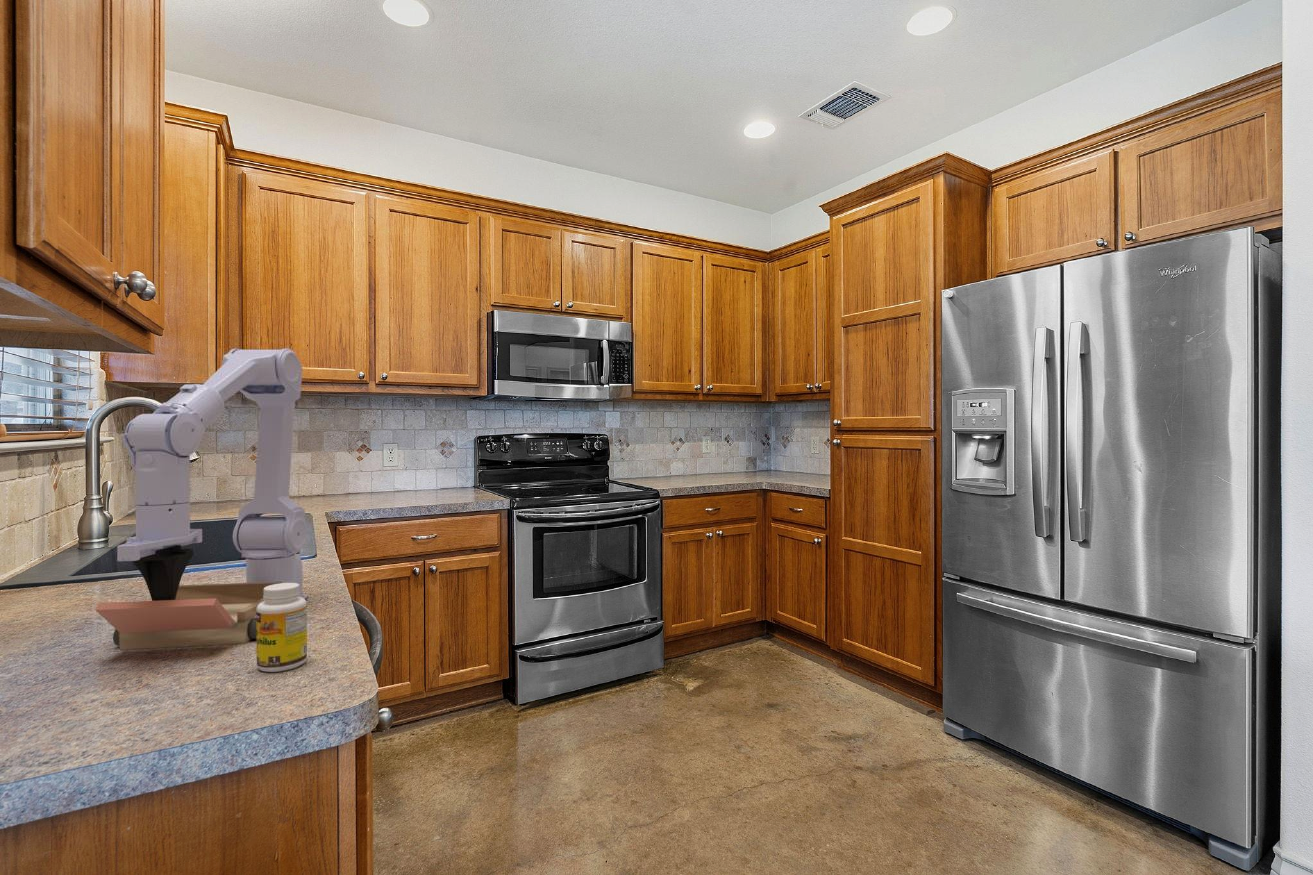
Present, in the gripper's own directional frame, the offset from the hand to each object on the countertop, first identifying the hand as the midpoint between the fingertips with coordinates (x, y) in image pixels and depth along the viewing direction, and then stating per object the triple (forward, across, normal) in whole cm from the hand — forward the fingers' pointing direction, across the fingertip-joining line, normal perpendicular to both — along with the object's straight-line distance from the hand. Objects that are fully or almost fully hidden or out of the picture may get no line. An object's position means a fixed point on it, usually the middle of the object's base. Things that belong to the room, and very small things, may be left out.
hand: (163, 605), depth 84 cm
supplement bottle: (+7, +6, +17) cm, 19 cm away
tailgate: (+4, -3, 0) cm, 5 cm away
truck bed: (+7, -10, 0) cm, 12 cm away
